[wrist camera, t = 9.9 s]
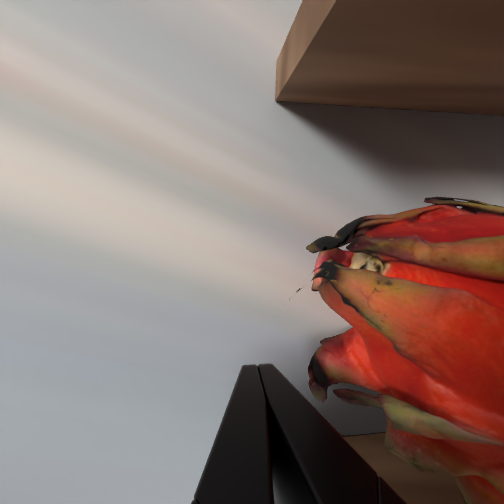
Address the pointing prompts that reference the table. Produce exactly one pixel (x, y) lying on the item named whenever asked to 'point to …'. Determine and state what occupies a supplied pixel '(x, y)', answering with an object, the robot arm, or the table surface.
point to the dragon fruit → (422, 335)
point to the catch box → (398, 97)
